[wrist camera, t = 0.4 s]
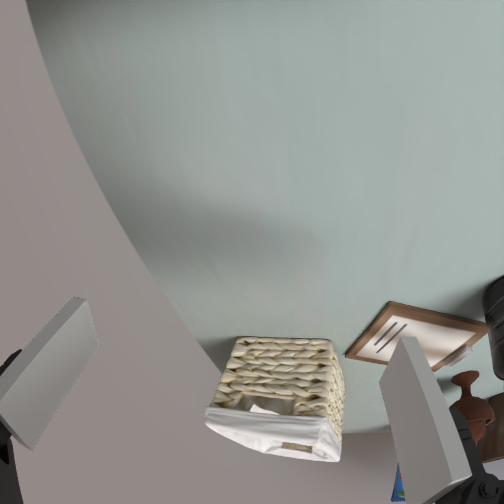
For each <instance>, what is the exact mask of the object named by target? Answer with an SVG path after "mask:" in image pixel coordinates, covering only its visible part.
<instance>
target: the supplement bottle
mask: <svg viewBox="0 0 504 504" xmlns="http://www.w3.org/2000/svg"><path fill="white" fill-rule="evenodd" d="M482 306H483V311H484V316H485V321H486V326H487V331H488V337H489V343H490V349H491V356H492V363H493V370H494V374H495V375H496V376H497V378H499V379H501V380H504V277H503V278H501V279H500V280H498V281H497V282H495V283H494V284H493V285H492V286H491V287H490V288H489V289H488V290H487V292H486V293H485V295H484V298H483V302H482Z"/></svg>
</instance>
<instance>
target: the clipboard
mask: <svg viewBox="0 0 504 504" xmlns="http://www.w3.org/2000/svg"><path fill="white" fill-rule="evenodd" d="M487 333H488V331H487V326H486V323H484V322H479V321H475V320H470V319H466V318H461V317H457V316H452V315H448V314H443V313H439V312H435V311H430V310H426V309H422V308H417V307H413V306H409V305H404V304H400V303H396V302H392V301H390V302H389V303H388V304H387V306H386V307H385V308H384V309H383V311H382V312H381V313H380V314H379V316H378V317H377V318H376V319H375V320H374V322H373V323H372V324H371V325H370V326H369V328H368V329H367V330H366V331H365V332H364V333H363V335H362V336H361V337H360V338H359V339H358V340H357V341H356V343H355V344H354V345H353V346H352V347H351V348H350V349H349V350H348V351H347V353H346V354H345V358H350V359H355V360H361V361H366V362H372V363H378V364H384V365H388V363H389V360H390V358H391V356H392V354H393V352H394V350H395V347H396V345H397V343H398V341H399V338H400V336H406V337H416V338H417V340H418V342H419V344H420V346H421V348H422V350H423V352H424V354H425V356H426V358H427V360H428V363H429V365H430V367H431V369H432V371H433V372H435V371H437V370H438V369H440V368H441V367H443V366H444V365H446V366H453V365H454V364H456V363H457V362H459V361H460V360H462V359H463V358H464V357H466V356H467V355H469V354H470V353H471V352H472V345H473V344H474V343H476V342H477V341H478V340H479V339H481V338H482V337H483V336H484V335H486V334H487Z"/></svg>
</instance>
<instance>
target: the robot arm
mask: <svg viewBox="0 0 504 504" xmlns="http://www.w3.org/2000/svg"><path fill="white" fill-rule="evenodd" d="M99 347H100V345H99V341H98V338H97V335H96V331H95V328H94V324H93V320H92V317H91V313H90V309H89V305H88V301H87V299H83V298H80V297H75V296H74V297H73V298H72V299H71V300H70V301H69V302H68V303H67V304H66V305H65V306H64V307H63V308H62V309H61V310H60V311H59V312H58V313H57V314H56V315H55V316H54V317H53V318H52V319H51V320H50V321H49V322H48V323H47V324H46V325H45V326H44V328H43V329H42V330H41V331H40V332H39V333H38V334H37V335H36V336H35V337H34V338H33V339H32V341H30V343H29V344H28V345H27V346H26V347H25V348H24V349H23V350H21V349H20V350H18V351H16V352H15V353H13V354H12V355H10V357H9V358H8V359H7V360H6V361H5V362H4V365H2V366H1V367H0V504H23V500H22V496H21V492H20V487H19V482H18V477H17V472H16V466H15V460H14V453H13V445H12V442H11V440H10V437H11V435H12V436H13V437H14V438H15V439H16V440H17V441H18V442H19V443H20V444H22V445H23V446H25V447H27V448H28V449H29V450H31V451H33V449H34V448H35V446H36V444H37V443H38V441H39V439H40V437H41V436H42V434H43V432H44V431H45V429H46V428H47V426H48V424H49V423H50V421H51V419H52V418H53V416H54V415H55V413H56V411H57V410H58V408H59V407H60V405H61V403H62V402H63V401H64V399H65V397H66V396H67V394H68V393H69V391H70V390H71V388H72V387H73V385H74V384H75V382H76V381H77V379H78V378H79V376H80V375H81V373H82V372H83V370H84V369H85V368H86V366H87V365H88V363H89V362H90V360H91V359H92V357H93V356H94V355H95V353H96V352H97V350H98V349H99ZM379 384H380V388H381V392H382V395H383V399H384V403H385V407H386V411H387V415H388V419H389V423H390V427H391V431H392V435H393V439H394V444H395V449H396V453H397V458H398V463H399V468H400V473H401V478H402V484H403V489H404V495H405V501H406V504H432V503H434V502H435V504H504V480H498V478H497V477H496V476H494V475H493V474H488V473H486V472H485V470H484V467H483V464H482V461H481V458H480V455H479V453H478V450H477V447H476V444H475V442H474V439H472V434H471V431H470V430H469V426H468V424H467V421H466V419H465V416H464V415H463V414H462V413H461V412H460V411H459V410H458V408H457V407H453V408H448V406H447V403H446V401H445V399H444V396H443V394H442V391H441V389H440V387H439V385H438V382H437V380H436V378H435V376H434V373H433V371H432V369H431V367H430V365H429V363H428V360H427V358H426V356H425V354H424V352H423V350H422V348H421V346H420V344H419V342H418V340H417V338H416V337H406V336H400V338H399V341H398V343H397V345H396V347H395V350H394V352H393V354H392V356H391V358H390V360H389V363H388V365H387V367H386V369H385V371H384V373H383V375H382V377H381V379H380V381H379Z"/></svg>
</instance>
